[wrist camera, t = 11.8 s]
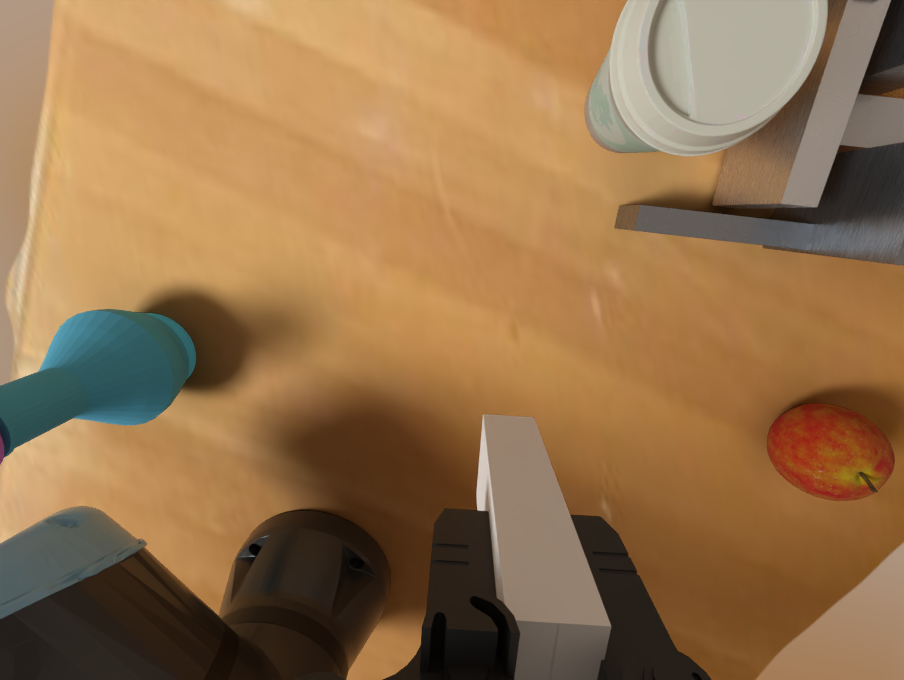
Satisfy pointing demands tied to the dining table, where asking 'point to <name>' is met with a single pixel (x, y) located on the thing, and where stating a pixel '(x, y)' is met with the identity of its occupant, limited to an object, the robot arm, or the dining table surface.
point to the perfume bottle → (99, 375)
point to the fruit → (830, 452)
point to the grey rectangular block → (816, 120)
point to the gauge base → (844, 196)
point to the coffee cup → (701, 72)
